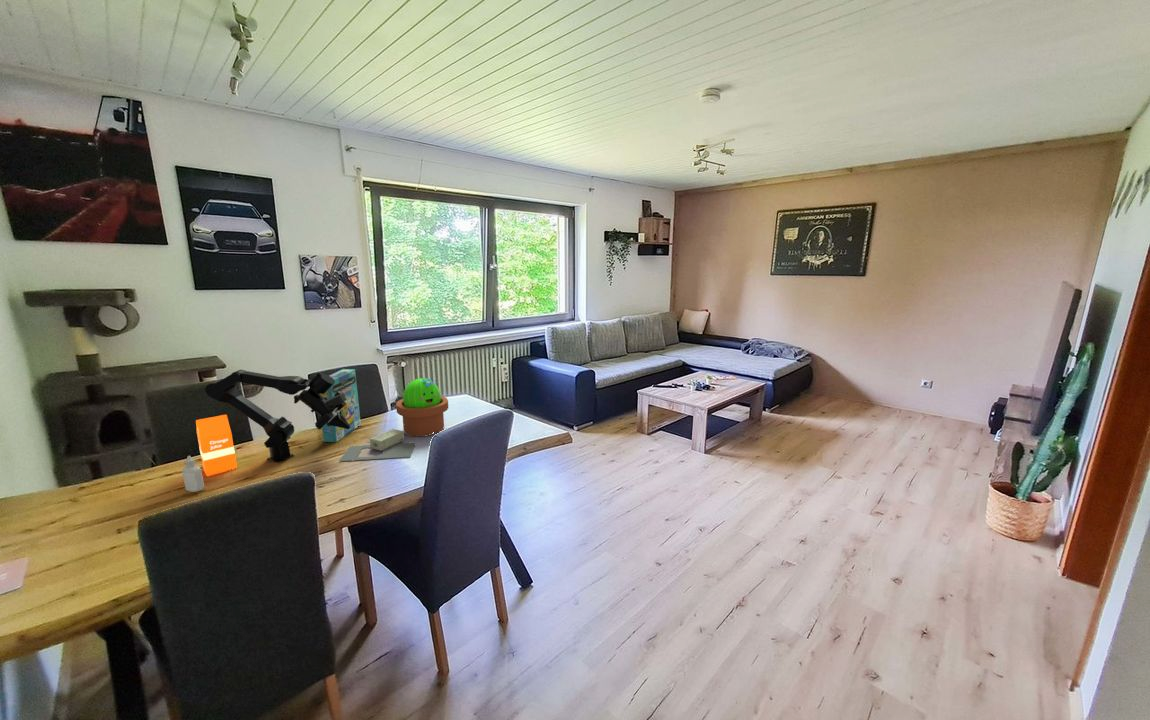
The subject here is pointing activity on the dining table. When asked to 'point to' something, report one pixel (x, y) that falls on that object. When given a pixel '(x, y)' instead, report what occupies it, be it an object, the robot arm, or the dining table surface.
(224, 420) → the orange juice
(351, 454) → the flat grey rectangular plate
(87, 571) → the dining table surface
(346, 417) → the game box
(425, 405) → the potted cactus
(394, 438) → the skincare box
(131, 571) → the dining table surface
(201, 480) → the eye dropper bottle
